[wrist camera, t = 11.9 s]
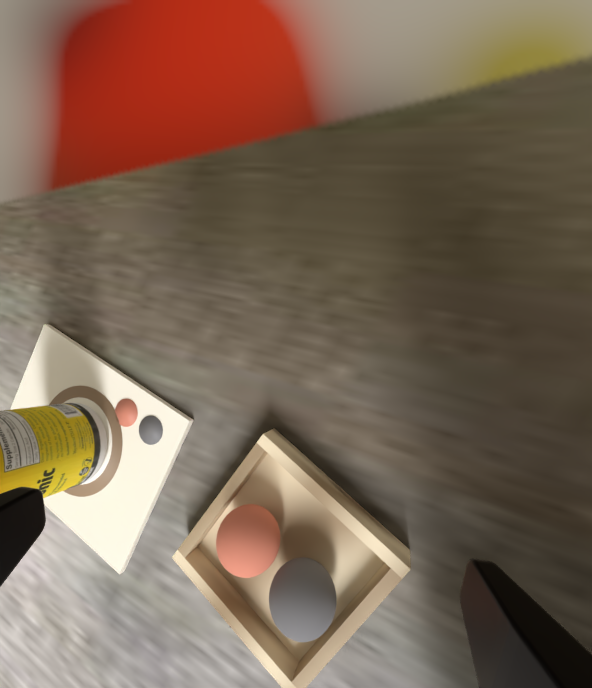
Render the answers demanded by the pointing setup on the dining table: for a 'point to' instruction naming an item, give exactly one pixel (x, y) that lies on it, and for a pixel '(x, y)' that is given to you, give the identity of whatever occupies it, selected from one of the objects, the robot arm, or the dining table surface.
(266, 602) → the masu tray
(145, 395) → the card
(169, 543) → the dining table surface
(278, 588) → the grey ball
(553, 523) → the dining table surface
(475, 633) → the robot arm
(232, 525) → the red ball
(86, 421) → the supplement bottle
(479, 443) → the dining table surface
